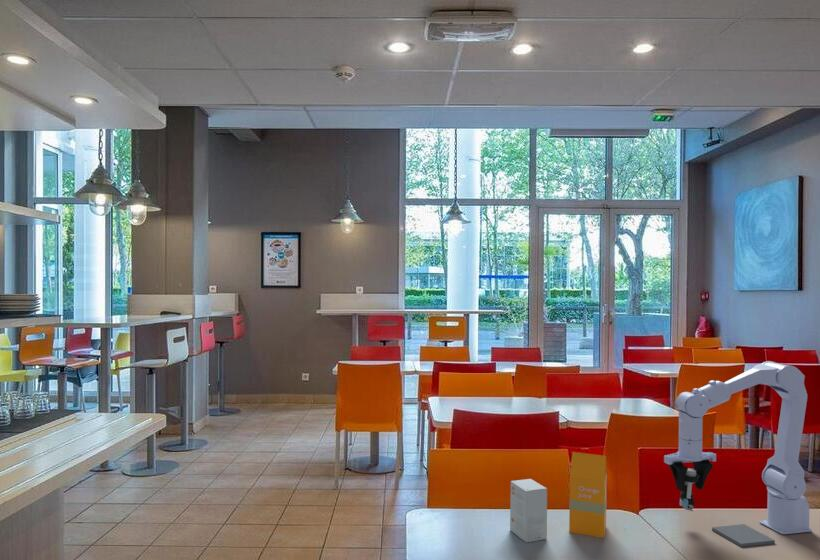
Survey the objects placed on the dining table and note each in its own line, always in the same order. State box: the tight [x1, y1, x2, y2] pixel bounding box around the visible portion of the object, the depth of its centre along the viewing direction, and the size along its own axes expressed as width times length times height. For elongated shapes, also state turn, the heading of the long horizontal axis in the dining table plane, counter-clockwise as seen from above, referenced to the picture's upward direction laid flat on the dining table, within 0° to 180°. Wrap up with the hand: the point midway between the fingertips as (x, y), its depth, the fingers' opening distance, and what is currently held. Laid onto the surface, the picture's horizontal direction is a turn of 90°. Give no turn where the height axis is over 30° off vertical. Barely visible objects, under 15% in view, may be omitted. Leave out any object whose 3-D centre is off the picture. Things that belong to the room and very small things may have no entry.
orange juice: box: [568, 451, 608, 538], centre depth 158 cm, size 8×9×20 cm
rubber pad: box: [711, 523, 776, 548], centre depth 154 cm, size 10×10×1 cm
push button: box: [679, 467, 700, 512], centre depth 159 cm, size 7×5×10 cm
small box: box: [509, 478, 548, 543], centre depth 154 cm, size 8×6×13 cm
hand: (689, 489), depth 159 cm, fingers closed on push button, 5 cm apart
